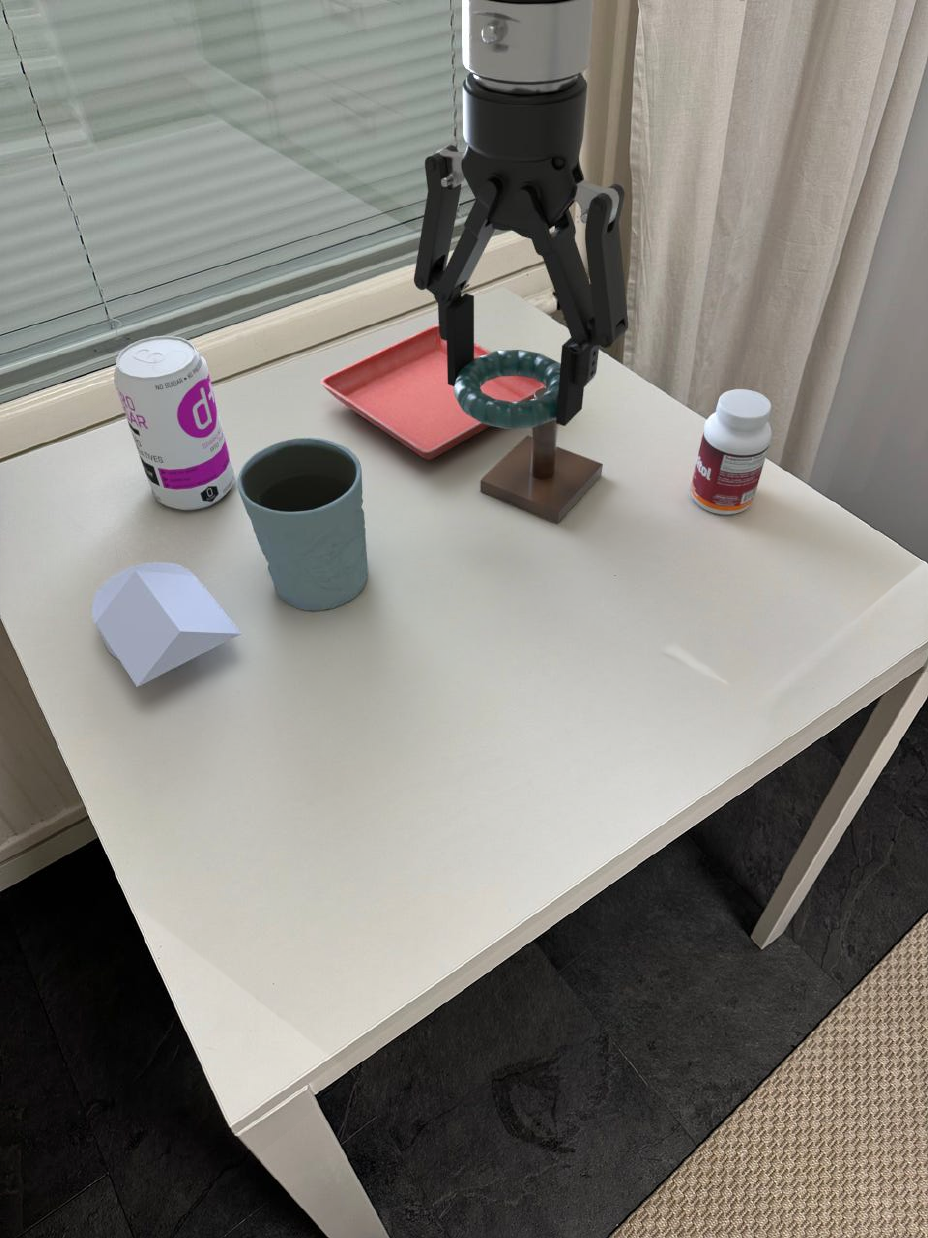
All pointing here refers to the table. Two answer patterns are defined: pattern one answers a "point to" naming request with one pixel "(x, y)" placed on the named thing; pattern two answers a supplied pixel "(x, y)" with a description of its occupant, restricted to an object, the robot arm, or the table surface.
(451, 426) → the plant saucer
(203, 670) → the table surface
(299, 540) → the blue-grey embossed cup
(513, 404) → the teal beaded ring
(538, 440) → the stand
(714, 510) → the pill bottle
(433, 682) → the table surface
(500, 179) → the robot arm
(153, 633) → the wedge on round base
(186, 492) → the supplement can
